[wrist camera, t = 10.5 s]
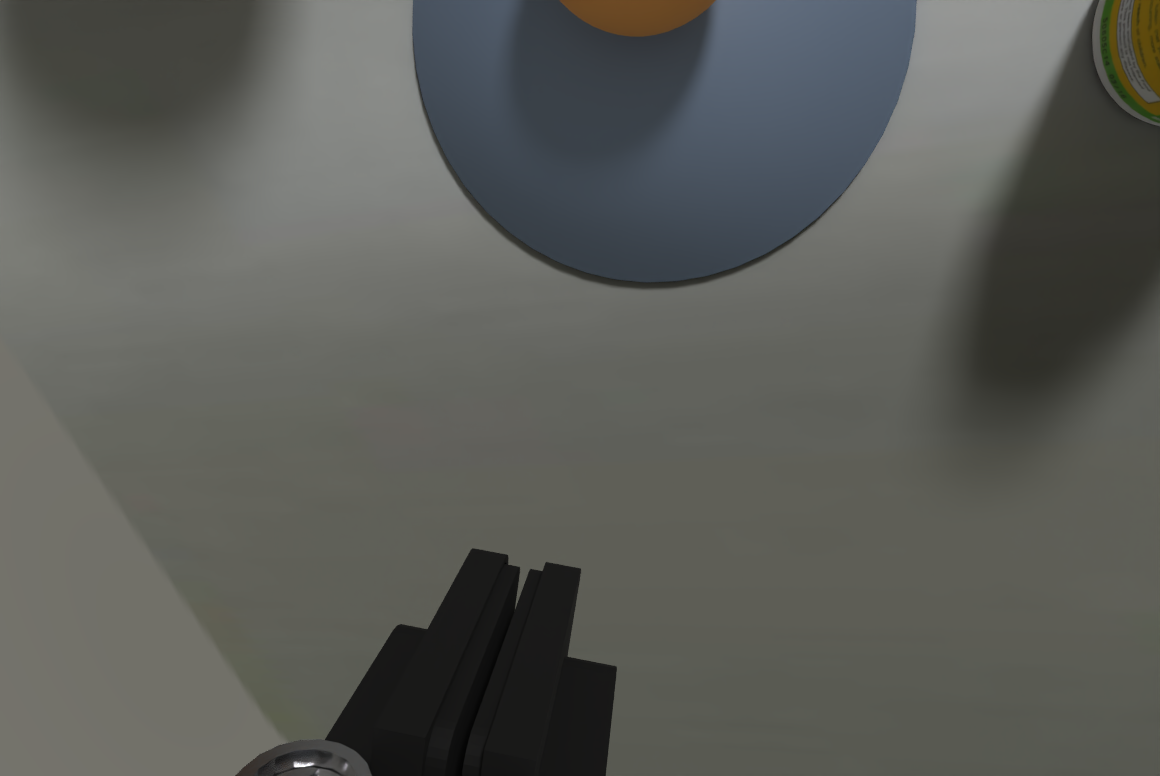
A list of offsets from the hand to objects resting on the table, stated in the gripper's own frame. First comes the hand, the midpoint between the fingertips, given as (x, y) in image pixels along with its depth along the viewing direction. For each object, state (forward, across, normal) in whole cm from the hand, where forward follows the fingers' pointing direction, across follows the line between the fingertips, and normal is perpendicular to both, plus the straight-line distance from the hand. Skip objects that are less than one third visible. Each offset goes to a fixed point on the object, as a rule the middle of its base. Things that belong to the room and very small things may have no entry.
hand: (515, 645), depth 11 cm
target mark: (+13, 0, -11) cm, 17 cm away
